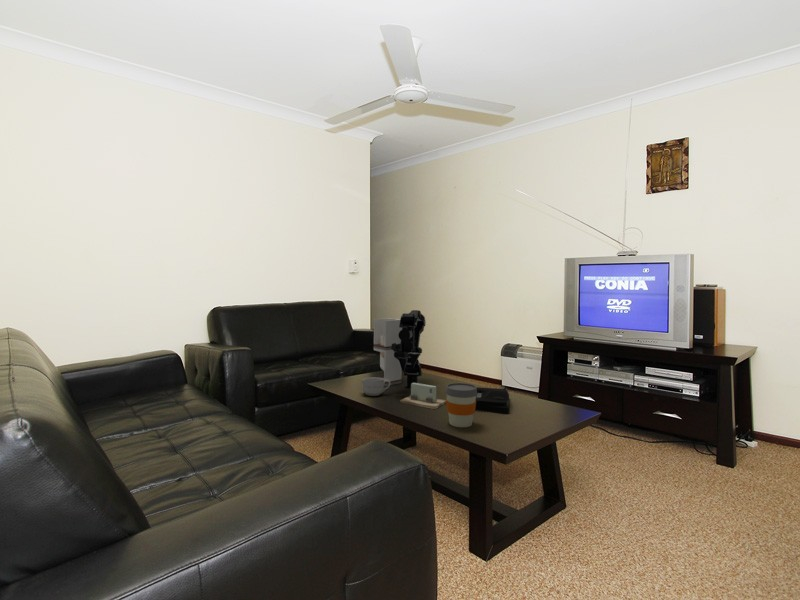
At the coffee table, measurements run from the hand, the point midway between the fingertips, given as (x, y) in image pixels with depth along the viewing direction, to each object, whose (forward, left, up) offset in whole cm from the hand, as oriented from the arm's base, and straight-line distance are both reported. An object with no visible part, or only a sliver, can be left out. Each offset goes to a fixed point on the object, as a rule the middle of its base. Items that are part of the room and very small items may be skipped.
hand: (408, 369), depth 220 cm
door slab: (+11, +15, -11) cm, 21 cm away
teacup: (+12, -11, -12) cm, 20 cm away
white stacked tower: (-12, -20, -12) cm, 26 cm away
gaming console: (-4, +40, -13) cm, 43 cm away
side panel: (+11, +15, -12) cm, 22 cm away
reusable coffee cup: (+28, +41, -12) cm, 51 cm away
